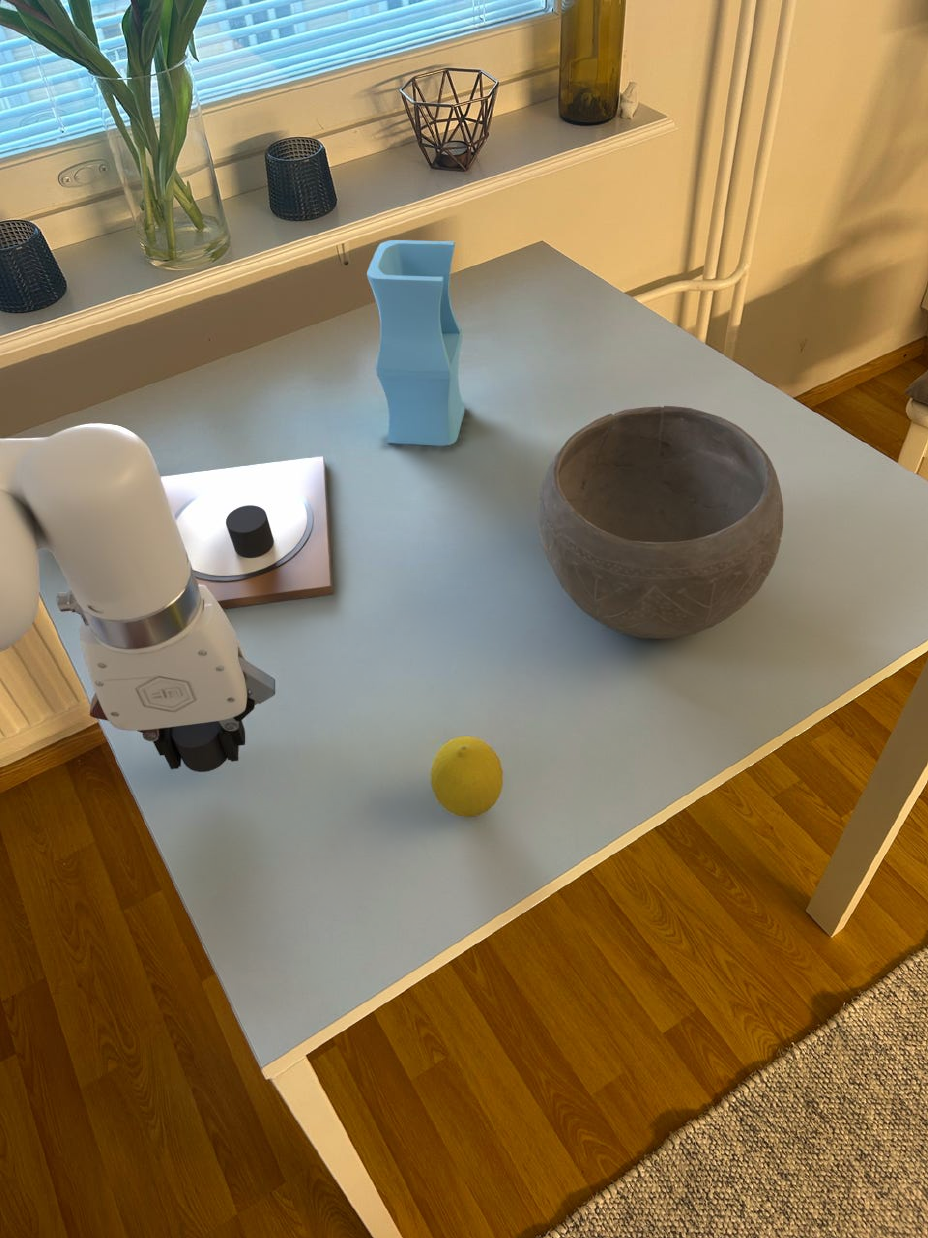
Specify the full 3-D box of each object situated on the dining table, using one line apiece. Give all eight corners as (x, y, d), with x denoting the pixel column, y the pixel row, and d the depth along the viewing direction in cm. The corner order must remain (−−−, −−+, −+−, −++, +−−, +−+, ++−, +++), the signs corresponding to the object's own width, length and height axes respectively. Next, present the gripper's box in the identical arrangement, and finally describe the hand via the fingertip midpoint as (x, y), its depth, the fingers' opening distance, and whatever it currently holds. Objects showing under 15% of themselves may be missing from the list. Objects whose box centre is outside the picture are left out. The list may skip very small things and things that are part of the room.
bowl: (494, 585, 90) (488, 464, 79) (642, 487, 98) (656, 364, 87) (656, 717, 79) (677, 598, 68) (808, 594, 87) (849, 469, 76)
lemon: (516, 791, 75) (514, 735, 69) (482, 846, 72) (477, 793, 66) (457, 763, 77) (451, 707, 71) (421, 815, 74) (412, 761, 68)
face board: (146, 619, 90) (142, 610, 89) (162, 484, 103) (159, 475, 102) (332, 594, 91) (330, 584, 90) (325, 464, 104) (323, 454, 103)
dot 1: (180, 775, 75) (168, 751, 72) (183, 734, 78) (172, 709, 75) (230, 768, 75) (220, 744, 73) (231, 728, 78) (222, 703, 75)
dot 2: (233, 560, 93) (224, 535, 90) (234, 533, 95) (226, 507, 93) (274, 555, 93) (266, 529, 90) (274, 528, 95) (266, 502, 93)
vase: (455, 446, 105) (442, 281, 89) (387, 442, 106) (363, 278, 91) (466, 404, 110) (456, 240, 95) (401, 401, 111) (380, 238, 96)
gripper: (3, 655, 60) (96, 804, 73) (266, 624, 61) (309, 776, 74) (24, 572, 64) (107, 726, 78) (267, 545, 66) (307, 701, 79)
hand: (205, 749), depth 76 cm, fingers closed on dot 1, 4 cm apart
